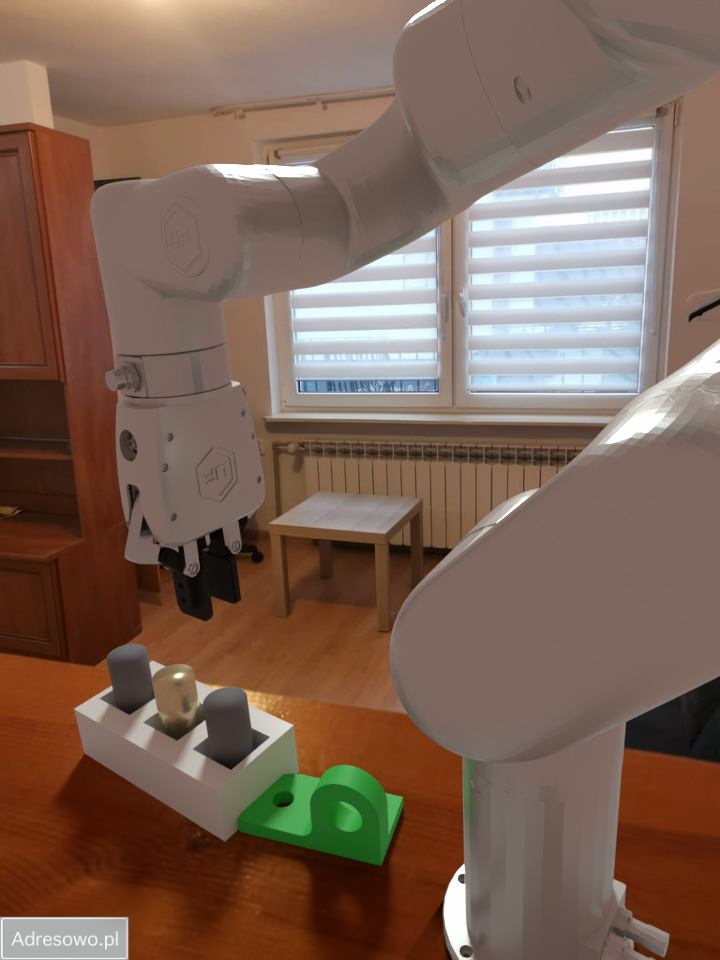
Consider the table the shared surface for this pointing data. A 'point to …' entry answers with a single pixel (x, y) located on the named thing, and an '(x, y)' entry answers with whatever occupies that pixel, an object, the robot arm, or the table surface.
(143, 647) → the far knob
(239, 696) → the near knob
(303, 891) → the table surface
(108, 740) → the white peg holder block
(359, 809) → the mechanical part
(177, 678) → the brass knob
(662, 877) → the table surface
